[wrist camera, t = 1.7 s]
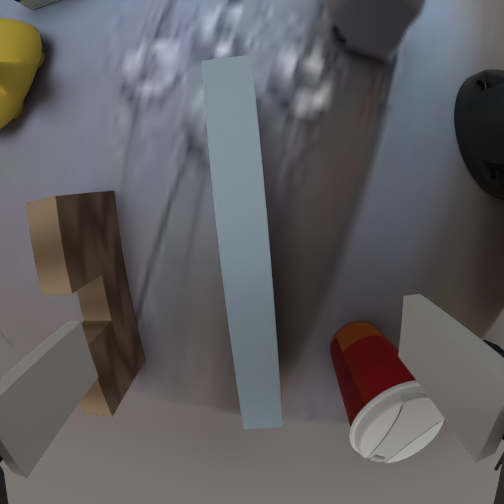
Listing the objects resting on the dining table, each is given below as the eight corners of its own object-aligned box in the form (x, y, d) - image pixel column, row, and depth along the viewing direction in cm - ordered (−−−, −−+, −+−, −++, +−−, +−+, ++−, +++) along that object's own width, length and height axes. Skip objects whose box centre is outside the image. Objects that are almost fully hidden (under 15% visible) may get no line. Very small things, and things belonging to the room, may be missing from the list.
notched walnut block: (88, 195, 28) (26, 203, 18) (113, 190, 28) (55, 196, 18) (121, 359, 32) (83, 412, 22) (145, 359, 32) (112, 416, 22)
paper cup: (359, 384, 32) (400, 473, 19) (305, 358, 32) (330, 456, 18) (402, 329, 31) (468, 404, 17) (349, 297, 30) (408, 374, 16)
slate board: (219, 100, 26) (201, 60, 17) (252, 97, 26) (251, 55, 16) (247, 364, 32) (243, 429, 22) (275, 362, 32) (282, 426, 22)
